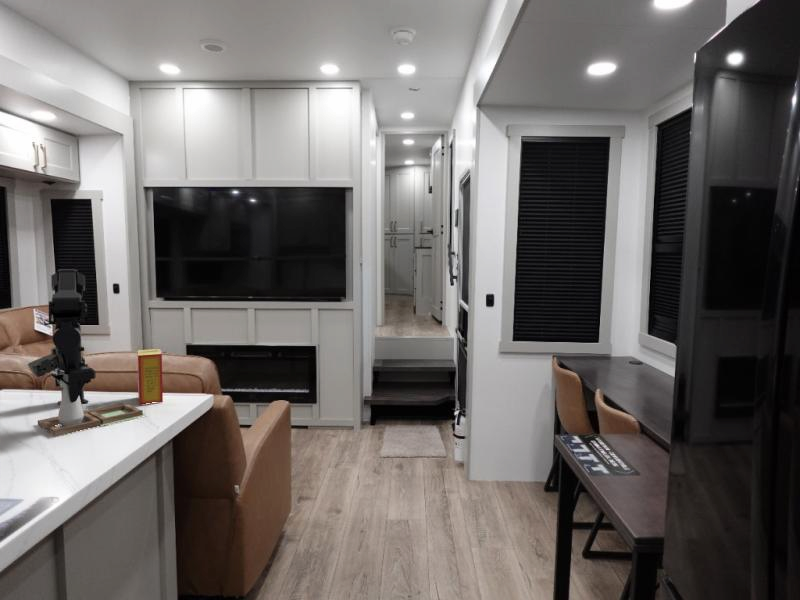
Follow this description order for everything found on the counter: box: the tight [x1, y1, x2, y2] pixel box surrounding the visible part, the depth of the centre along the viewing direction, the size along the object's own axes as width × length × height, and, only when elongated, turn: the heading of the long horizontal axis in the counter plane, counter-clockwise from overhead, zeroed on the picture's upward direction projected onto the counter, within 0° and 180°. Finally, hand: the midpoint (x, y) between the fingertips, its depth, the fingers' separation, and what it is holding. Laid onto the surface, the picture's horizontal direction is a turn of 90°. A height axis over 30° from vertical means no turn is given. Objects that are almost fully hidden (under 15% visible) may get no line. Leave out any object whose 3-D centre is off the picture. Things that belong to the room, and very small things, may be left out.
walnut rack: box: [37, 402, 144, 438], centre depth 134 cm, size 13×21×2 cm, turn 143°
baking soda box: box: [136, 348, 164, 406], centre depth 153 cm, size 10×6×16 cm
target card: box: [99, 410, 147, 427], centre depth 137 cm, size 12×12×1 cm
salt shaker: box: [57, 378, 84, 428], centre depth 128 cm, size 6×6×13 cm
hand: (70, 401), depth 128 cm, fingers closed on salt shaker, 3 cm apart
